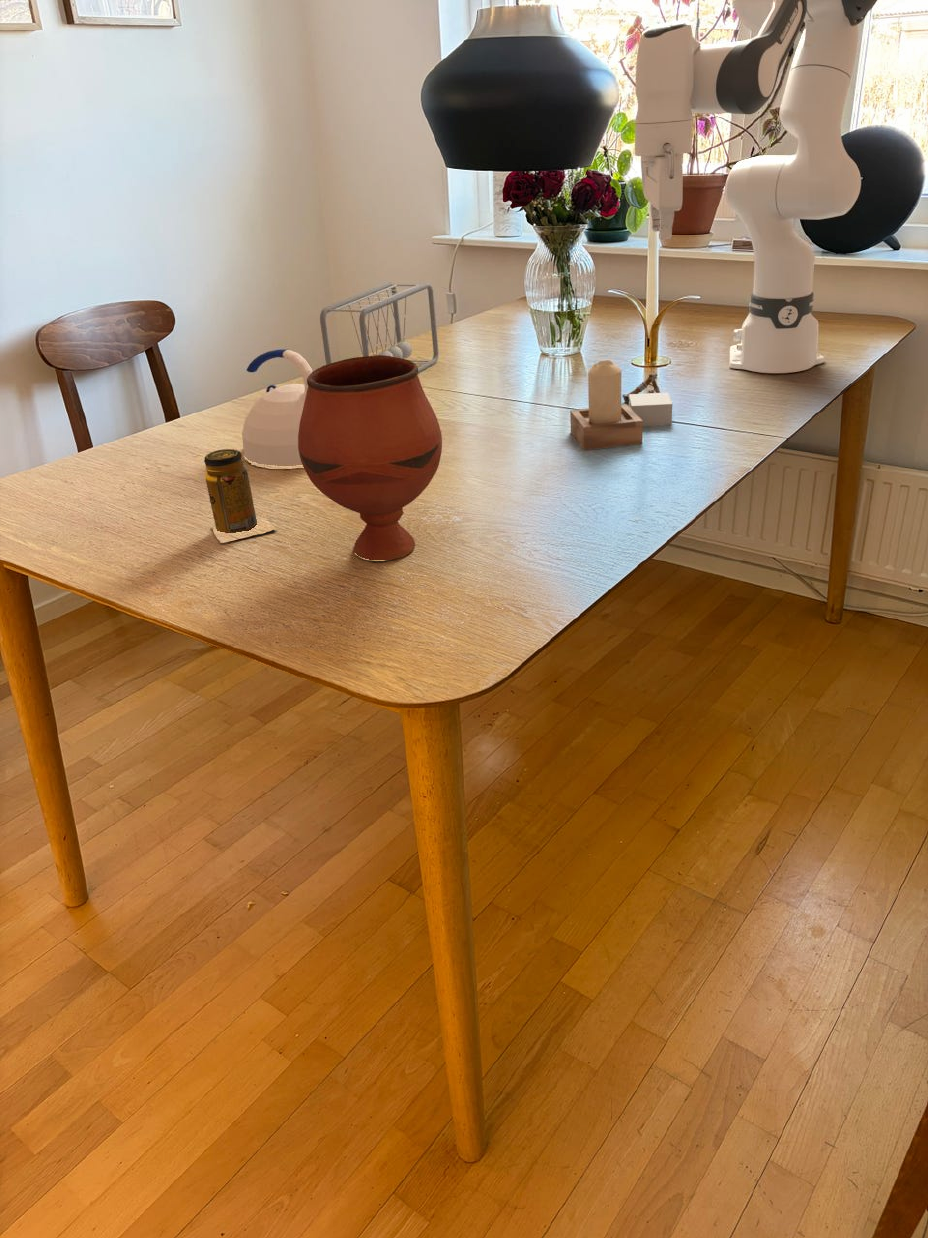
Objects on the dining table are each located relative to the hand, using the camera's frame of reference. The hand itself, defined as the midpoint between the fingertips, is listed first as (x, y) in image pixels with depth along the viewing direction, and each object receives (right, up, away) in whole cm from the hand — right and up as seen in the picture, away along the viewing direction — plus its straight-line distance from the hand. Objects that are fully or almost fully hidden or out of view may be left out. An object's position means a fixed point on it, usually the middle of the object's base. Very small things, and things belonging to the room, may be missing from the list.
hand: (661, 234), depth 162 cm
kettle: (-62, -33, +15) cm, 72 cm away
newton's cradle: (-49, -11, +53) cm, 73 cm away
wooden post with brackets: (+1, -22, +26) cm, 34 cm away
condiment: (-65, -50, -16) cm, 84 cm away
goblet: (-44, -54, -25) cm, 74 cm away
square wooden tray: (-8, -32, +8) cm, 34 cm away
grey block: (+1, -28, +15) cm, 31 cm away
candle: (-8, -29, +7) cm, 31 cm away
